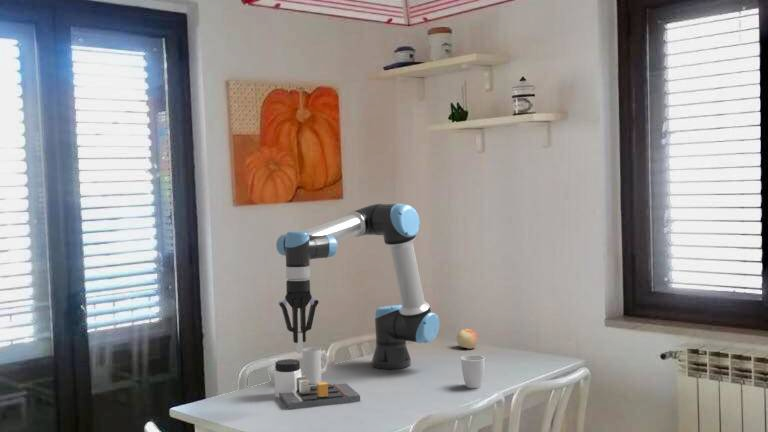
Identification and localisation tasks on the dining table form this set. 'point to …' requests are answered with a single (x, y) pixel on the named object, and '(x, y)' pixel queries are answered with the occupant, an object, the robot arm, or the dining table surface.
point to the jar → (286, 376)
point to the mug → (313, 364)
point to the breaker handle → (322, 389)
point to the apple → (467, 338)
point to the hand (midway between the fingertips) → (299, 352)
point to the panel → (309, 397)
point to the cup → (473, 370)
